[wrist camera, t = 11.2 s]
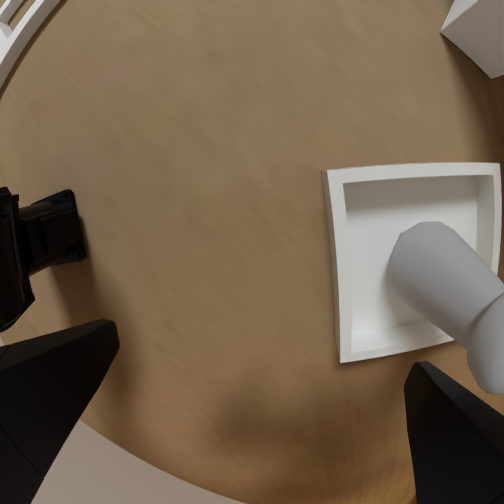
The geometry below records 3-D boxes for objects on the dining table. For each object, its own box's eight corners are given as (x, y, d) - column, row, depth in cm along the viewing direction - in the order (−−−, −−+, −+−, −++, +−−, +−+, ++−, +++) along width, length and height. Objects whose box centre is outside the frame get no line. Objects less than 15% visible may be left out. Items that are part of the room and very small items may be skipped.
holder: (-32, 175, 23) (-45, 178, 21) (-49, 114, 21) (-59, 114, 18) (179, -91, 10) (172, -103, 8) (116, -99, 8) (109, -106, 6)
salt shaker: (458, 257, 17) (571, 346, 5) (405, 306, 19) (484, 434, 7) (421, 197, 17) (565, 251, 4) (363, 252, 18) (453, 378, 6)
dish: (335, 338, 21) (340, 363, 18) (321, 170, 18) (326, 170, 15) (469, 312, 19) (486, 330, 16) (475, 162, 16) (499, 163, 13)
